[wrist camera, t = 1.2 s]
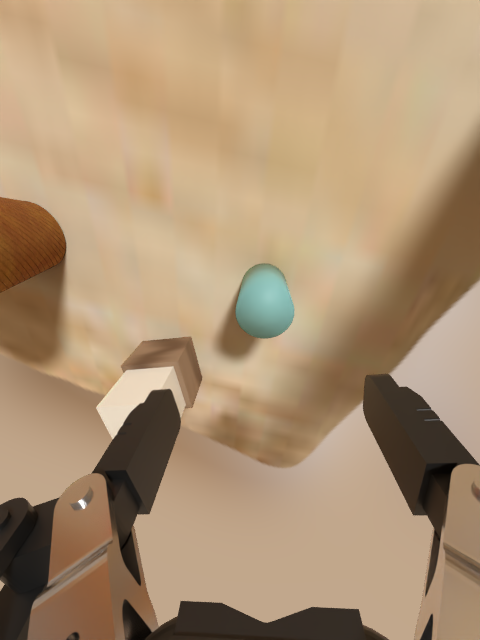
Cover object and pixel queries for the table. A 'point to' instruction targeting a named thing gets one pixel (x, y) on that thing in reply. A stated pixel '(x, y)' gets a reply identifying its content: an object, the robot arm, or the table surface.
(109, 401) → the cream block
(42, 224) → the disposable coffee cup
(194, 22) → the table surface
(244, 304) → the teal capsule
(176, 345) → the walnut base block
